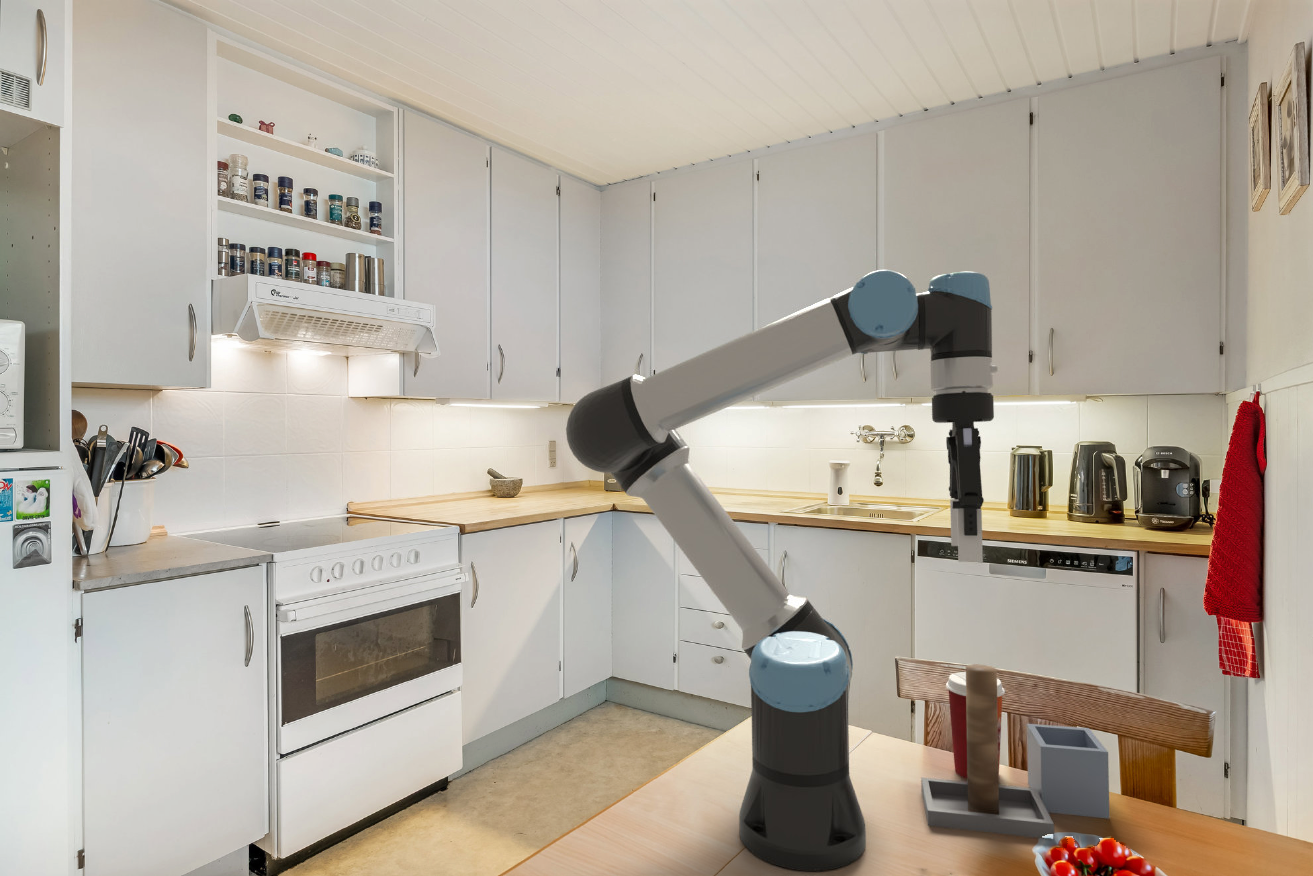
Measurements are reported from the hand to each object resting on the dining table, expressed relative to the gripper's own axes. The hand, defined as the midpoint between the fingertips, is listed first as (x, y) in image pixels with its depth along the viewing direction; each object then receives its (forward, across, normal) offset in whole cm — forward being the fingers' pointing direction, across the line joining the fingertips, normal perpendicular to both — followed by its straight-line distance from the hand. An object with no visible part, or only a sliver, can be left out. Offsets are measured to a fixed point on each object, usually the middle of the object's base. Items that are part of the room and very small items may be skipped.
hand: (965, 553), depth 96 cm
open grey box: (+33, +3, -12) cm, 35 cm away
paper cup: (+33, +8, -1) cm, 34 cm away
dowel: (+32, -4, -1) cm, 32 cm away
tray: (+33, -4, -1) cm, 33 cm away
